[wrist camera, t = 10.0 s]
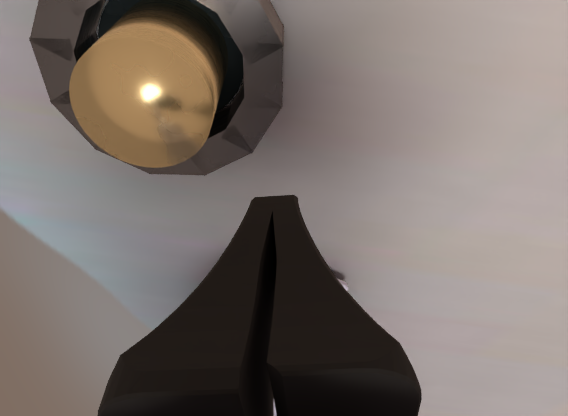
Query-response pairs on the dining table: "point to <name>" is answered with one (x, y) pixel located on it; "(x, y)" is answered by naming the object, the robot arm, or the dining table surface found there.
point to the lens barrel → (241, 61)
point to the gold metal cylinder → (152, 83)
